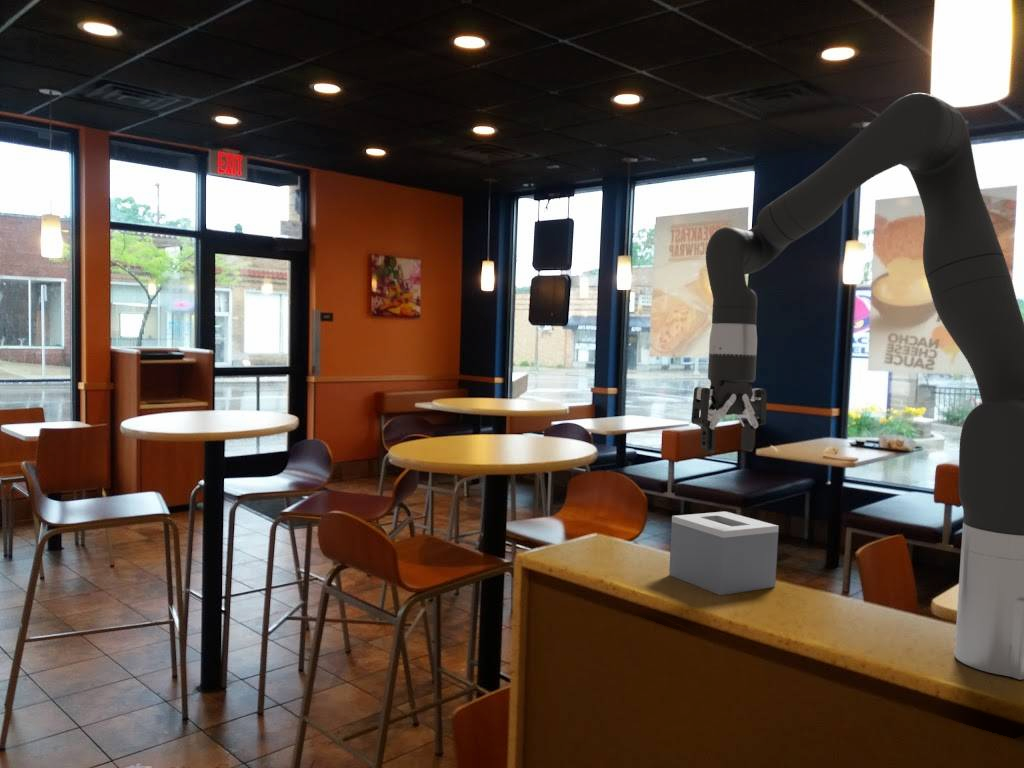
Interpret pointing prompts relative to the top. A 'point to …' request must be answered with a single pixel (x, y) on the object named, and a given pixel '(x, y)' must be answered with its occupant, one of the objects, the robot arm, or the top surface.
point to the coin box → (723, 552)
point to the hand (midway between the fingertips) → (727, 451)
